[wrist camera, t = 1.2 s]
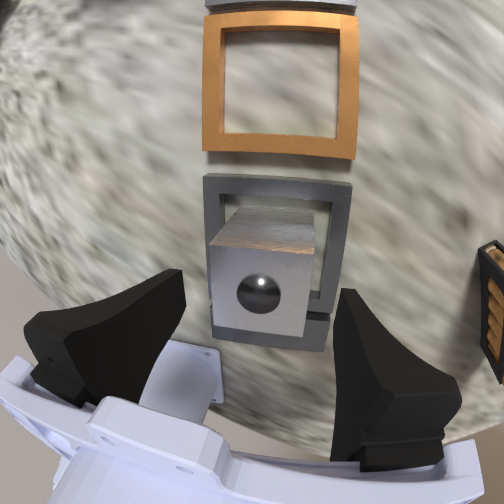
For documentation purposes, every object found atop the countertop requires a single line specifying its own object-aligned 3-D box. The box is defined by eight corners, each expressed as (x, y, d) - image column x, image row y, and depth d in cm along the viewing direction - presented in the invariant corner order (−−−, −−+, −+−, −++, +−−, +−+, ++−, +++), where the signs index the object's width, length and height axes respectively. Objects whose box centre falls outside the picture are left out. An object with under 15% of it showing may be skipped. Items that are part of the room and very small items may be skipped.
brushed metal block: (240, 269, 20) (213, 327, 14) (240, 205, 18) (207, 245, 12) (306, 276, 19) (302, 338, 13) (313, 211, 17) (314, 256, 12)
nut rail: (216, 329, 22) (212, 337, 22) (212, -24, 11) (207, -30, 10) (323, 343, 21) (323, 352, 20) (351, -25, 10) (353, -32, 9)
